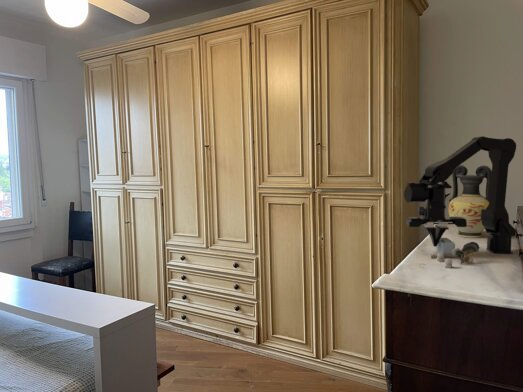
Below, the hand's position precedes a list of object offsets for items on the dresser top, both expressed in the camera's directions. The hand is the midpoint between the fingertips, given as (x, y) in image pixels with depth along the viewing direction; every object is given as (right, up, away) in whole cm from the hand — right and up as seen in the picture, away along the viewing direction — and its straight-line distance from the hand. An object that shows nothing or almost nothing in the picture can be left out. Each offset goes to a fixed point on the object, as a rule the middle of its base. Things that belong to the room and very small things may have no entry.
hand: (435, 246), depth 141 cm
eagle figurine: (+6, -4, -10) cm, 12 cm away
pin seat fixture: (+2, -4, -7) cm, 8 cm away
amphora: (+29, 0, +32) cm, 43 cm away
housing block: (+3, -3, 0) cm, 5 cm away
